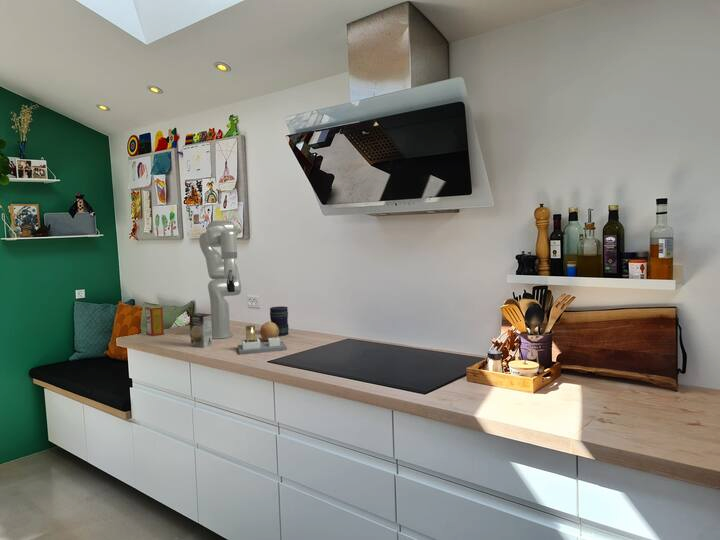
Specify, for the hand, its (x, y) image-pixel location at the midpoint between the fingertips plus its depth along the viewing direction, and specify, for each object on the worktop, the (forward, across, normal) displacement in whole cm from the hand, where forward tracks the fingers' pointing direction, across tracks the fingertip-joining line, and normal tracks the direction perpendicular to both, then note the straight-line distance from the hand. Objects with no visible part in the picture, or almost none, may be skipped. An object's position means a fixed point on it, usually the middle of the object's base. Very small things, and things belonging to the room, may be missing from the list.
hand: (230, 290), depth 248 cm
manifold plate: (+28, +10, +13) cm, 32 cm away
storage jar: (+28, -22, +26) cm, 44 cm away
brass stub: (+26, +10, +8) cm, 29 cm away
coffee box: (+28, -10, -15) cm, 34 cm away
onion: (+28, -8, +19) cm, 35 cm away
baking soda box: (+29, -54, -41) cm, 74 cm away
